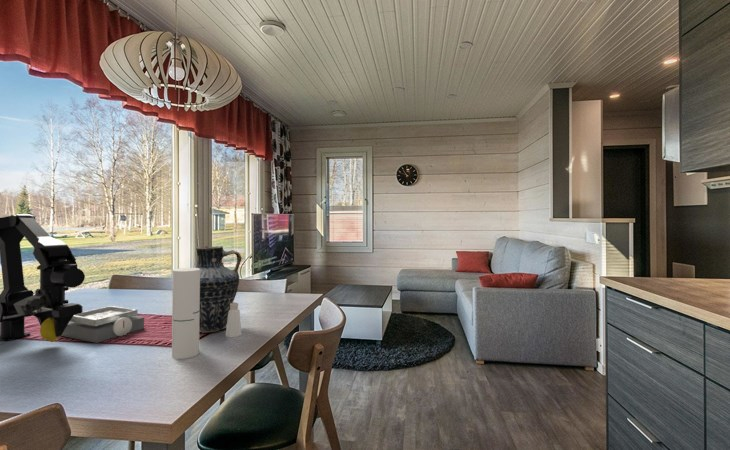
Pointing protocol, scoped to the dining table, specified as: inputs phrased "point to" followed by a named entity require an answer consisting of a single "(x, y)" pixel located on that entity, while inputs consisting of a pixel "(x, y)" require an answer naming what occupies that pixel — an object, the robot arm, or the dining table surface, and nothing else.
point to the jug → (216, 287)
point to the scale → (103, 329)
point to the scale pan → (103, 315)
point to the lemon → (48, 330)
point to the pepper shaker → (233, 321)
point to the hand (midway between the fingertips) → (52, 335)
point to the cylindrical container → (185, 312)
